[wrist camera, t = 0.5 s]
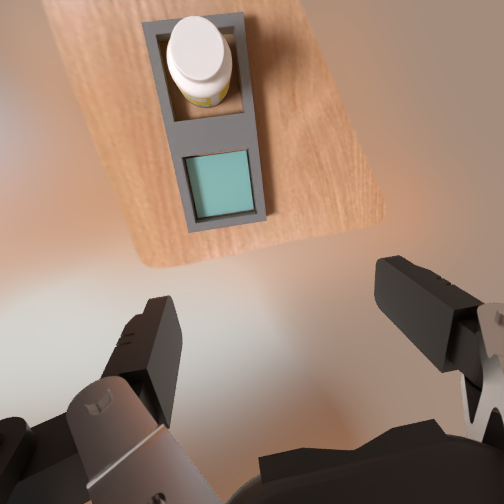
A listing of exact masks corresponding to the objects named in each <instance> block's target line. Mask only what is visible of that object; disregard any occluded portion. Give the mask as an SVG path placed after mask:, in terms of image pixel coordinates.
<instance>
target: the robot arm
mask: <svg viewBox="0 0 504 504" xmlns="http://www.w3.org/2000/svg"><path fill="white" fill-rule="evenodd" d="M374 296H375V300H376V303H377V305H378V307H379V308H380V310H381V311H382V312H383V313H384V314H385V315H386V316H387V317H388V318H389V319H390V320H391V321H392V322H393V323H394V324H395V325H396V326H397V327H398V328H399V329H400V330H401V331H402V332H403V333H404V334H405V335H406V336H407V337H408V339H409V340H410V341H411V342H412V343H413V344H414V345H415V346H416V347H417V348H418V349H419V350H420V351H421V352H422V353H423V354H424V355H425V356H426V357H427V358H428V359H429V360H430V361H431V362H432V363H433V364H434V365H435V366H436V367H437V368H438V370H439V371H441V372H442V373H444V372H449V371H454V370H459V371H461V372H462V377H461V391H462V400H463V408H464V417H465V426H466V438H465V437H461V436H455V435H448V434H445V432H444V431H443V430H442V429H441V427H440V426H439V425H438V423H437V422H436V421H435V420H434V419H431V420H427V421H422V422H418V423H413V424H408V425H404V426H400V427H395V428H392V429H390V430H388V431H386V432H385V433H383V434H381V435H380V436H378V437H376V438H375V439H373V440H371V441H369V442H368V443H366V444H364V445H363V446H361V447H359V448H357V449H355V450H332V449H316V448H299V449H295V450H290V451H286V452H281V453H277V454H272V455H268V456H263V457H259V458H258V459H259V466H260V473H261V474H259V475H257V476H256V477H254V478H252V479H251V480H249V482H247V483H246V484H245V485H243V486H242V487H241V488H240V489H239V490H238V491H237V492H235V494H233V496H232V497H231V498H230V499H229V500H228V502H227V503H226V504H504V304H503V303H487V304H485V303H483V302H481V301H480V300H478V299H476V298H475V297H473V296H471V295H470V294H468V293H467V292H465V291H463V290H462V289H460V288H458V287H457V286H455V285H451V283H450V282H449V281H447V280H445V279H442V278H441V277H440V276H439V275H437V274H435V273H434V272H432V271H431V270H428V269H425V268H422V267H419V266H416V265H414V264H413V263H411V262H409V261H408V260H406V259H405V258H403V257H402V256H399V255H397V256H392V257H386V258H381V259H378V260H377V263H376V272H375V291H374ZM116 345H117V347H115V349H114V351H113V353H112V355H111V357H110V359H109V361H108V363H107V365H106V367H105V370H104V372H103V374H102V376H101V378H100V379H99V380H97V381H95V382H93V383H91V384H90V385H88V386H87V387H85V388H84V389H83V390H82V391H80V392H79V393H78V394H77V395H76V396H75V397H74V399H73V400H72V402H71V403H70V404H69V406H68V409H67V412H65V413H63V414H61V415H59V416H56V417H54V418H52V419H50V420H48V421H45V422H43V423H41V424H39V425H36V426H34V427H32V428H30V427H29V426H28V424H27V423H26V421H25V420H24V419H23V418H20V417H10V418H6V419H2V420H0V504H84V503H86V502H88V501H90V500H91V502H92V504H223V502H222V501H221V500H220V498H219V497H218V496H217V494H216V493H215V492H214V490H213V489H212V488H211V486H210V485H209V484H208V482H207V481H206V480H205V478H204V477H203V476H202V474H201V473H200V472H199V470H198V469H197V468H196V466H195V465H194V464H193V462H192V461H191V460H190V458H189V457H188V456H187V454H186V453H185V452H184V450H183V449H182V448H181V446H180V445H179V444H178V442H177V441H176V440H175V439H174V437H173V436H172V434H171V433H170V432H169V430H168V429H169V428H170V422H171V415H172V409H173V402H174V395H175V389H176V382H177V376H178V370H179V363H180V357H181V350H182V332H181V328H180V324H179V321H178V318H177V314H176V310H175V307H174V304H173V300H172V298H171V296H163V297H157V298H152V299H149V300H148V302H147V304H146V307H145V309H144V312H143V314H138V315H135V316H134V317H133V318H132V319H131V320H130V321H129V322H128V323H127V324H126V325H125V328H124V330H123V332H122V334H121V338H119V340H118V342H117V344H116Z"/></svg>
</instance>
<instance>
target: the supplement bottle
mask: <svg viewBox="0 0 504 504" xmlns="http://www.w3.org/2000/svg"><path fill="white" fill-rule="evenodd" d="M167 64H168V68H169V71H170V74H171V76H172V78H173V80H174V82H175V83H176V85H177V86H178V88H179V89H180V91H181V92H182V94H183V95H184V97H185V98H186V99H187V100H188V101H189V102H190V103H192V104H193V105H195V106H198V107H201V108H210V107H214V106H216V105H218V104H219V103H220V102H221V101H222V100H223V99H224V98H225V96H226V94H227V92H228V89H229V84H230V78H231V72H232V56H231V51H230V48H229V46H228V43H227V41H226V40H225V38H224V36H223V35H222V34H221V33H220V32H219V30H218V29H217V28H216V26H215V25H214V24H213V23H212V22H210V21H209V20H207V19H206V18H203V17H200V16H189V17H186V18H184V19H182V20H180V21H179V22H178V23H177V24H176V26H175V27H174V29H173V31H172V34H171V37H170V40H169V43H168V47H167Z"/></svg>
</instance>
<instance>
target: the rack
mask: <svg viewBox="0 0 504 504" xmlns="http://www.w3.org/2000/svg"><path fill="white" fill-rule="evenodd" d="M200 17H203V18H206V19H207V20H209V21H210V22H212V23H213V24H214V25H215V26H216V28H217V29H218V30H219V32H220V33H221V34H230V33H233V35H234V43H235V51H236V59H237V67H238V75H239V83H240V91H241V99H242V107H243V113H238V114H231V115H223V116H216V117H208V118H200V119H193V120H185V121H178V122H176V120H175V115H174V110H173V105H172V101H171V96H170V91H169V86H168V82H167V77H166V72H165V67H164V63H163V58H162V53H161V48H160V43H159V41H168V40H170V37H171V34H172V31H173V29H174V27H175V26H176V24H177V23H178V22H179V21H180V20H182V19H184V18H181V19H171V20H162V21H153V22H143V23H142V26H143V31H144V35H145V40H146V44H147V48H148V53H149V57H150V62H151V66H152V71H153V75H154V80H155V84H156V89H157V93H158V98H159V102H160V106H161V111H162V115H163V120H164V124H165V129H166V133H167V138H168V142H169V147H170V151H171V155H172V160H173V164H174V169H175V173H176V178H177V182H178V187H179V191H180V196H181V200H182V205H183V209H184V213H185V218H186V222H187V227H188V231H189V233H191V232H197V231H204V230H210V229H216V228H223V227H229V226H235V225H241V224H248V223H254V222H260V221H267V219H266V210H265V201H264V192H263V183H262V174H261V166H260V157H259V148H258V139H257V130H256V121H255V112H254V103H253V95H252V86H251V77H250V68H249V59H248V50H247V41H246V33H245V24H244V15H243V12H237V13H228V14H218V15H209V16H200ZM244 148H248V154H249V162H250V170H251V178H252V186H253V194H254V202H255V209H256V211H250V212H243V213H237V214H231V215H224V216H218V217H211V218H205V219H199V220H196V215H195V210H194V206H193V201H192V196H191V191H190V187H189V182H188V177H187V172H186V167H185V163H184V158H183V157H187V156H194V155H201V154H208V153H215V152H222V151H230V150H237V149H244ZM186 163H187V168H188V173H189V177H190V182H191V187H192V192H193V197H194V202H195V206H196V211H197V216H198V218H202V217H209V216H215V215H221V214H228V213H234V212H241V211H247V210H253V209H254V207H253V200H252V192H251V184H250V176H249V169H248V161H247V153H246V150H244V151H237V152H230V153H223V154H216V155H209V156H202V157H195V158H188V159H186Z"/></svg>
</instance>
